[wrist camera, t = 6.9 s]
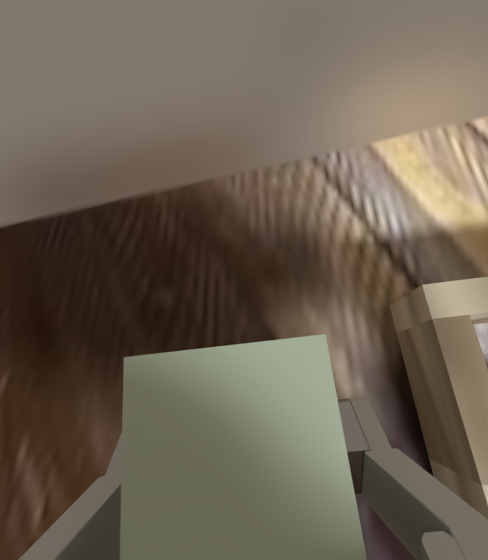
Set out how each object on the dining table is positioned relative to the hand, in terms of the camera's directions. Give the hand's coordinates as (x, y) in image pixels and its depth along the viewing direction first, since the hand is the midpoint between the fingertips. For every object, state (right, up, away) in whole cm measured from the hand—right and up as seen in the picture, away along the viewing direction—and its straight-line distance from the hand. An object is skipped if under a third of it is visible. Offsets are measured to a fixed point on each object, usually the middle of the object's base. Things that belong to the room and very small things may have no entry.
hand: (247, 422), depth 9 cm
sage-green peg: (+1, -2, +6) cm, 6 cm away
